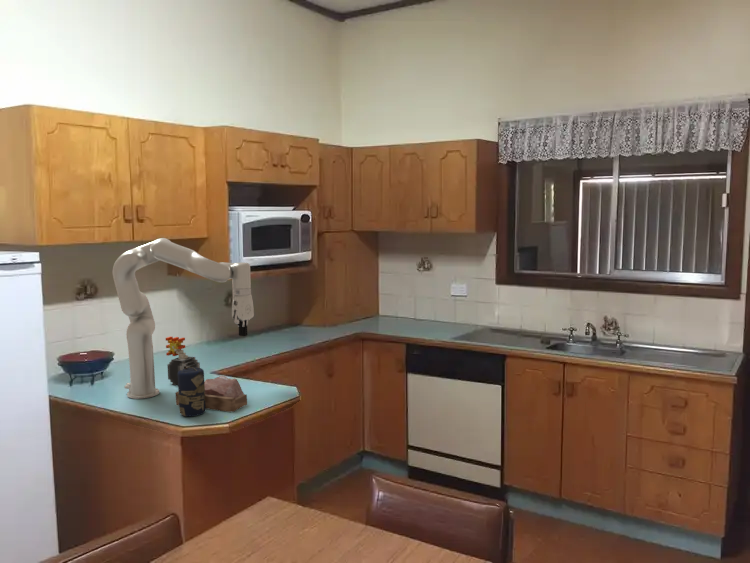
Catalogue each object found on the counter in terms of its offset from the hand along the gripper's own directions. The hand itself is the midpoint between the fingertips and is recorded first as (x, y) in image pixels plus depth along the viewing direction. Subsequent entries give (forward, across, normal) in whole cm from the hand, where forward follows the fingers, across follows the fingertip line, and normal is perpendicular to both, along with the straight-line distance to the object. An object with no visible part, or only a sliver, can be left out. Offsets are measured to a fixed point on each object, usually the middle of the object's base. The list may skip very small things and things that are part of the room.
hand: (243, 335), depth 276 cm
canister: (+23, -36, 0) cm, 43 cm away
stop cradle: (+23, -24, 0) cm, 33 cm away
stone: (+23, -19, -2) cm, 30 cm away
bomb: (+23, -2, +31) cm, 39 cm away
